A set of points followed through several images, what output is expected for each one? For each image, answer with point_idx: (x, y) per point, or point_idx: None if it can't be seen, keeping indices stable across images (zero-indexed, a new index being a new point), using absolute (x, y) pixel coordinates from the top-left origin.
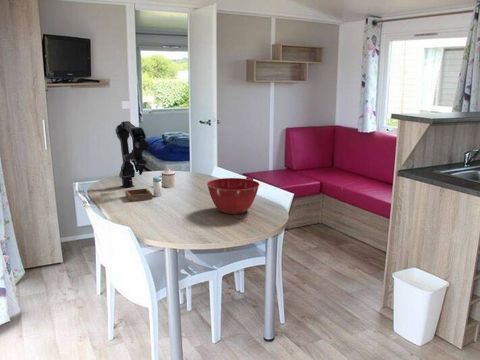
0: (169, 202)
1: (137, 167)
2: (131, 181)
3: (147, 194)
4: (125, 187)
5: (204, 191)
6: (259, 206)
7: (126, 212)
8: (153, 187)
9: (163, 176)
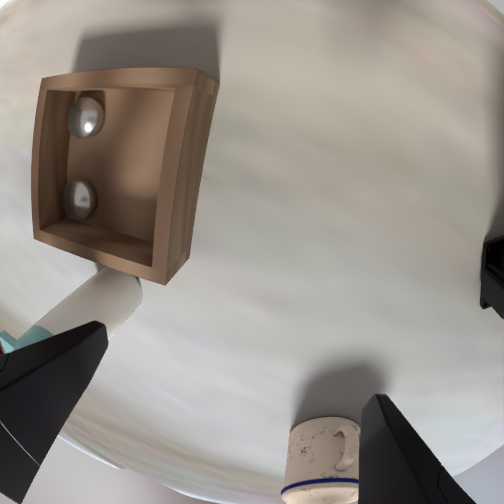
0: (34, 276)
1: (374, 478)
2: (498, 304)
3: (34, 206)
4: (496, 239)
5: (148, 443)
6: None
7: (4, 57)
8: (76, 301)
9: (322, 470)
